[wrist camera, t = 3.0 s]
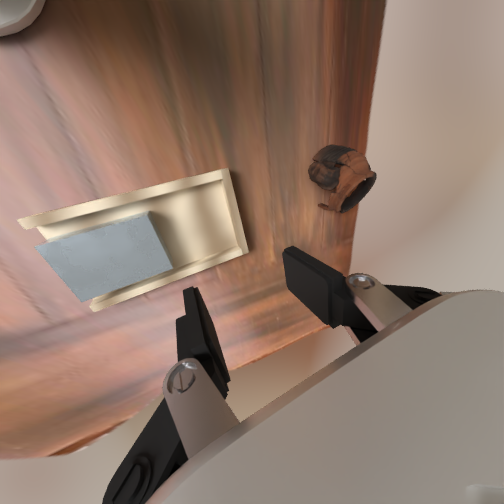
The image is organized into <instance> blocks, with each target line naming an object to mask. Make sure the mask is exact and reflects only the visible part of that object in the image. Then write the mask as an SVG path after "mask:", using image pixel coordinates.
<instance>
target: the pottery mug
mask: <svg viewBox="0 0 504 504" xmlns="http://www.w3.org/2000/svg"><path fill="white" fill-rule="evenodd" d="M313 160H314V161H318V162H314V163H313V164H312V165H310V167H309V170H308V173H309V176H310V179H311V180H312V181H314V182H316V183H317V184H318V185H319V186H320V187H322V189H326V190H333V189H334V188H335V187H336V192H331V194H330V199H329V205H328V206H327V205H325V204H322V203H321V204H319V205H318V206H320V207H321V208H323V209H326V210H335V211H336V212H339V211H340V212H341V213H344V212H346V211H348V210H350V209H351V208H353V207H354V206H355V205H356V204H357V203H358V202H360V201H361V200H362V198H363V197H365V195H366V194H367V193H368V192H369V191H370V189H371V187H372V186H373V185H374V183H375V180H376V173H375V172H373V171H371V168H370V165H369V164H368V162H367V160H366V157H365V156H363V154H362V153H358V152H357V151H355V150H354V149H351V148H347V147H345V146H337V145H329V146H326V147H325V148H323V149H321V150H320V151H319V152H318V153H317V154H316V155H315V156H314V158H313ZM335 164H339V165H342V166H341V167H340V168H338V167H335ZM364 179H366V180H364ZM357 185H358V186H357ZM356 186H357V188H356V189H355V190H354V191H353V192H352V194H351V195H350V197H347V195H348V194H349V193H350V192H351V191H352V190H353V189H354V188H355V187H356ZM346 197H347V198H346Z"/></svg>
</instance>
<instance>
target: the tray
mask: <svg viewBox="0 0 504 504" xmlns="http://www.w3.org/2000/svg"><path fill="white" fill-rule="evenodd" d="M145 211H150V213H151V215H152V217H153V219H154V221H155V223H156V225H157V227H158V230H159V232H160V234H161V236H162V238H163V240H164V242H165V244H166V246H167V249H168V251H169V253H170V255H171V257H172V259H173V269H170V270H168V271H165V272H162V273H160V274H157V275H154V276H152V277H149V278H146V279H143V280H141V281H138V282H135V283H133V284H130V285H127V286H124V287H122V288H119V289H116V290H114V291H111V292H108V293H105V294H103V295H100V296H97V297H95V298H94V299H93V301H92V303H91V304H90V306H89V307H90V308H91V309H92V310H93V311H94V312H96V311H99V310H101V309H104V308H107V307H109V306H112V305H114V304H117V303H119V302H122V301H125V300H127V299H130V298H132V297H135V296H137V295H140V294H143V293H145V292H148V291H150V290H153V289H155V288H158V287H161V286H163V285H166V284H168V283H171V282H174V281H176V280H179V279H181V278H184V277H186V276H189V275H192V274H194V273H197V272H199V271H202V270H204V269H207V268H210V267H212V266H215V265H217V264H220V263H222V262H225V261H228V260H230V259H233V258H235V257H238V256H241V255H243V254H246V253H248V252H249V251H248V247H247V243H246V239H245V235H244V231H243V227H242V222H241V218H240V214H239V210H238V206H237V202H236V198H235V194H234V189H233V185H232V181H231V177H230V173H229V169H228V168H224V169H220V170H216V171H212V172H208V173H203V174H199V175H195V176H191V177H187V178H183V179H179V180H175V181H171V182H166V183H162V184H158V185H154V186H150V187H146V188H142V189H138V190H134V191H130V192H125V193H121V194H117V195H113V196H109V197H105V198H101V199H97V200H93V201H88V202H84V203H80V204H76V205H72V206H68V207H64V208H60V209H56V210H52V211H47V212H43V213H39V214H35V215H31V216H28V217H24V218H21V219H18V220H17V221H18V222H19V223H20V224H21V226H22V227H23V228H24V229H25V230H26V229H30V228H34V227H37V228H38V230H39V231H40V232H41V233H42V235H43V236H44V237H45V238H46V240H48V239H50V238H51V237H55V236H59V235H62V234H66V233H69V232H73V231H77V230H80V229H84V228H87V227H91V226H95V225H98V224H102V223H106V222H109V221H113V220H116V219H120V218H124V217H127V216H131V215H134V214H138V213H142V212H145Z"/></svg>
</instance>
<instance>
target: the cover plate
mask: <svg viewBox="0 0 504 504" xmlns="http://www.w3.org/2000/svg"><path fill="white" fill-rule="evenodd" d="M35 248H36V250H37V251H38V252H39V253H40V254H41V255H42V257H43V258H44V259H45V260H46V261H47V262H48V264H49V265H50V266H51V267H52V268H53V270H54V271H55V272H56V273H57V274H58V275H59V277H60V278H61V279H62V280H63V281H64V282H65V284H66V285H67V286H68V287H69V288H70V289H71V291H72V292H73V293H74V294H75V295H76V296H77V298H78V299H79V300H80V301H81V302H84V301H87V300H89V299H92V298H95V297H97V296H100V295H103V294H105V293H108V292H111V291H114V290H116V289H119V288H122V287H124V286H127V285H130V284H133V283H135V282H138V281H141V280H143V279H146V278H149V277H152V276H154V275H157V274H160V273H162V272H165V271H168V270H170V269H173V259H172V257H171V255H170V253H169V251H168V249H167V246H166V244H165V242H164V240H163V238H162V236H161V234H160V232H159V230H158V227H157V225H156V223H155V221H154V219H153V217H152V215H151V213H150V211H145V212H142V213H138V214H134V215H131V216H127V217H124V218H120V219H116V220H113V221H109V222H106V223H102V224H98V225H95V226H91V227H87V228H84V229H80V230H77V231H73V232H69V233H66V234H62V235H59V236H55V237H51V238H50V239H48V240H46V241H44V242H42V243H40V244H39V245H37V246H35Z"/></svg>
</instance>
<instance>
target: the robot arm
mask: <svg viewBox="0 0 504 504" xmlns="http://www.w3.org/2000/svg"><path fill="white" fill-rule="evenodd" d="M44 3H45V0H0V36H5V35H9V34H13V33H17V32H19V31H21V30H22V29H24V28H26V27H27V26H29V25H31V24H32V22H33V21H34V20H35V19H36V18H37V16H38V15H39V14H40V13H41V10H42V8H43V5H44ZM282 256H283V262H284V269H285V276H286V283H287V287H288V289H289V290H290V291H291V292H292V293H293V294H294V295H295V296H296V297H297V298H298V299H299V300H300V301H301V302H302V303H303V304H304V305H305V306H306V307H308V308H309V309H310V310H311V311H312V312H313V313H314V314H315V315H316V316H317V317H318V318H319V319H320V320H321V321H322V322H323V323H324V324H326V325H328V324H329V325H330V326H331V327H332V328H333V329H334V328H336V327H337V326H339V325H342V326H344V327H345V329H346V330H347V332H348V334H349V335H350V336H351V338H352V340H353V341H354V343H355V344H356V347H354V348H353V349H351V350H350V351H348V352H347V353H345V354H344V355H342V356H341V357H339V358H338V359H336V360H335V361H333V362H331V363H330V364H328V365H327V366H326V367H324V368H322V369H321V370H319V371H318V372H316V373H315V374H313V375H312V376H310V377H308V378H307V379H305V380H304V381H302V382H301V383H299V384H298V385H296V386H295V387H293V388H292V389H290V390H289V391H287V392H286V393H284V394H283V395H282V396H280V397H278V398H277V399H275V400H274V401H272V402H271V403H269V404H268V405H266V406H265V407H263V408H262V409H260V410H258V411H257V412H256V413H254V414H252V415H251V416H250V417H248V418H247V419H245V420H244V421H242V422H241V423H240V422H239V420H238V419H237V418H236V416H235V415H234V413H233V412H232V410H231V409H230V407H229V406H228V404H227V403H226V401H225V399H226V397H227V395H228V394H227V392H228V391H229V389H228V386H227V383H228V382H229V381H230V376H229V373H228V370H227V367H226V363H225V360H224V357H223V353H222V350H221V347H220V344H219V340H218V337H217V334H216V331H215V327H214V324H213V322H212V319H211V317H210V315H209V312H208V310H207V308H206V305H205V303H204V301H203V298H202V296H201V294H200V292H199V289H198V287H196V288H194V287H193V286H192V287H189V288H187V289H185V290H183V296H184V304H185V312H186V315H184V316H182V317H180V318H178V319H176V335H177V354H178V363H176V364H175V365H174V366H173V367H172V368H171V369H170V370H169V372H168V373H167V375H166V377H165V379H164V381H163V387H162V388H163V394H164V399H163V400H162V402H161V403H160V405H159V406H158V408H157V410H156V411H155V413H154V414H153V416H152V417H151V419H150V420H149V422H148V423H147V425H146V427H145V428H144V429H143V431H142V433H141V434H140V435H139V437H138V439H137V440H136V442H135V443H134V445H133V446H132V448H131V449H130V451H129V452H128V454H127V455H126V457H125V458H124V460H123V462H122V463H121V465H120V466H119V468H118V469H117V471H116V472H115V474H114V476H113V478H112V479H111V481H110V483H109V485H108V487H107V490H106V492H105V495H104V498H103V503H102V504H504V292H500V291H494V290H468V291H461V292H440V293H438V292H436V291H433V290H431V289H427V288H422V287H411V286H396V285H383V284H381V283H380V282H379V281H378V280H377V279H375V278H374V277H372V276H370V275H367V274H363V273H355V274H351V275H349V276H347V278H346V277H344V276H343V274H342V273H340V272H338V271H337V270H335V269H333V268H331V267H330V266H328V265H326V264H324V263H323V262H321V261H319V260H317V259H316V258H314V257H312V256H310V255H309V254H307V253H305V252H303V251H302V250H300V249H298V248H296V247H294V246H291V247H288V248H286V249H284V252H283V253H282Z"/></svg>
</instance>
